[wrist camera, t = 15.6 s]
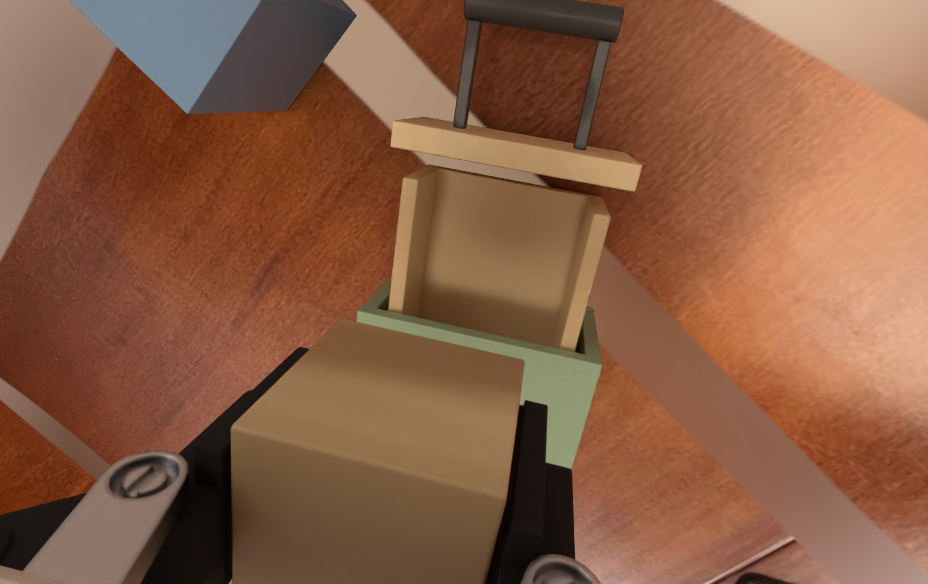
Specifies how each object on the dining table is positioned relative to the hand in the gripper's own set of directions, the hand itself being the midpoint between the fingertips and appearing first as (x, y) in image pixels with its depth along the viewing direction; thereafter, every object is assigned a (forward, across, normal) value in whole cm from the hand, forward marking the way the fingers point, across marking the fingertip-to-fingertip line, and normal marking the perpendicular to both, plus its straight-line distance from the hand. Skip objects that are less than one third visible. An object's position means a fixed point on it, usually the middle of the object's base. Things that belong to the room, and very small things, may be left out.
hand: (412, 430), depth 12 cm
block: (+1, 0, 0) cm, 1 cm away
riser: (+21, +15, -10) cm, 27 cm away
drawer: (+20, 0, -2) cm, 20 cm away
